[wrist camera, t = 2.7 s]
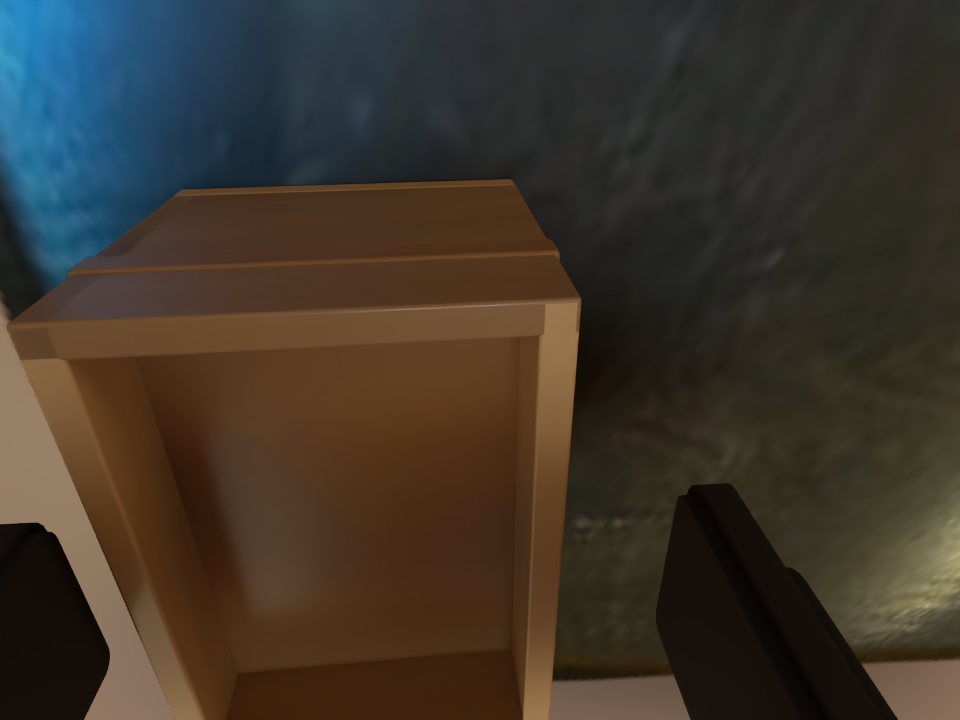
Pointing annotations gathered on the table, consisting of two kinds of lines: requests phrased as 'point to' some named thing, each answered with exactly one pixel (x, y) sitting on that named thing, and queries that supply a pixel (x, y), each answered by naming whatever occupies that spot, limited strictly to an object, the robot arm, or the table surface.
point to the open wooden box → (324, 445)
